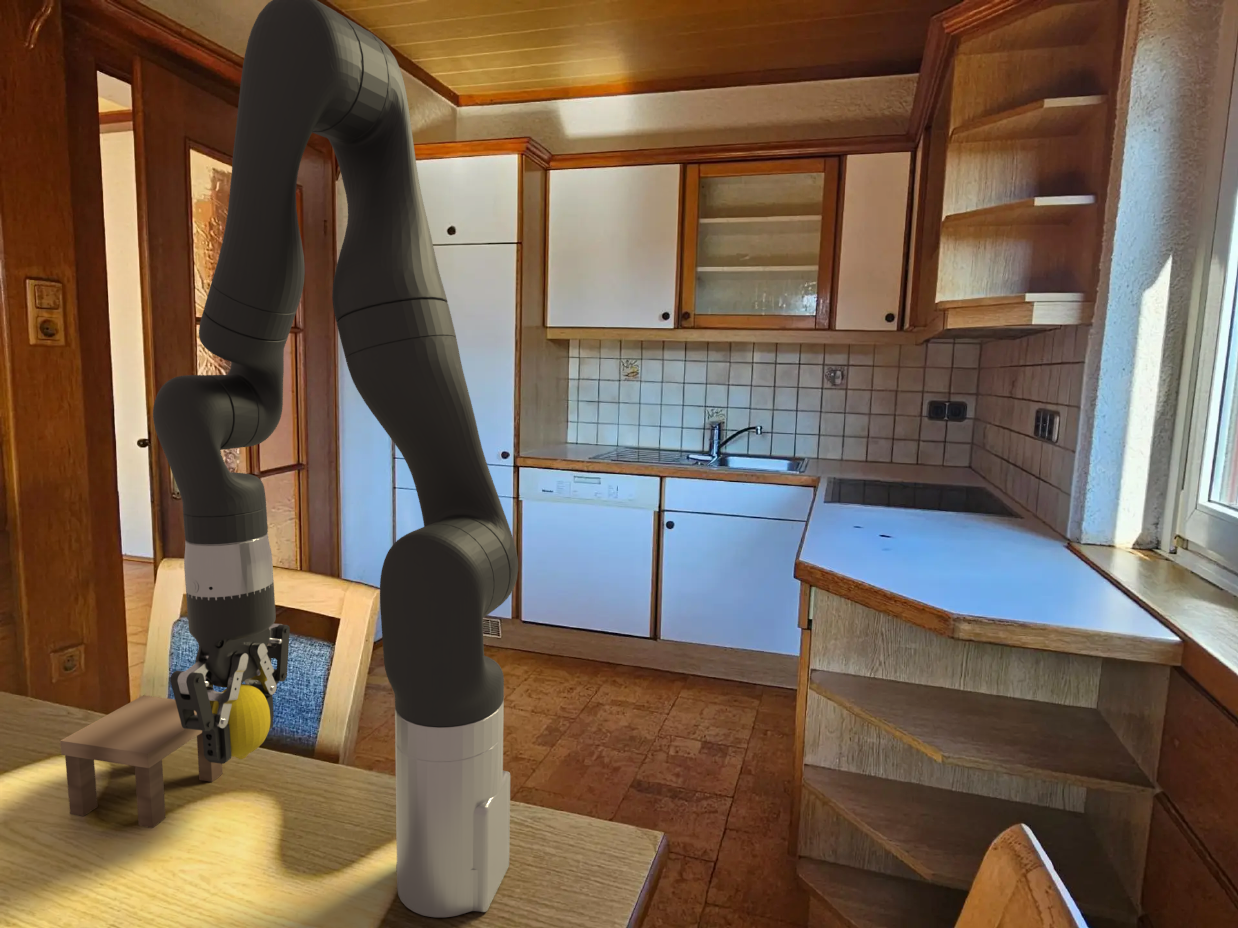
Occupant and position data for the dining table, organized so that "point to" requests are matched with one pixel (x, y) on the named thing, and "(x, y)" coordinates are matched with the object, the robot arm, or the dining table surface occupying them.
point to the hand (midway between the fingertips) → (241, 743)
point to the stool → (131, 754)
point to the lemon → (247, 721)
